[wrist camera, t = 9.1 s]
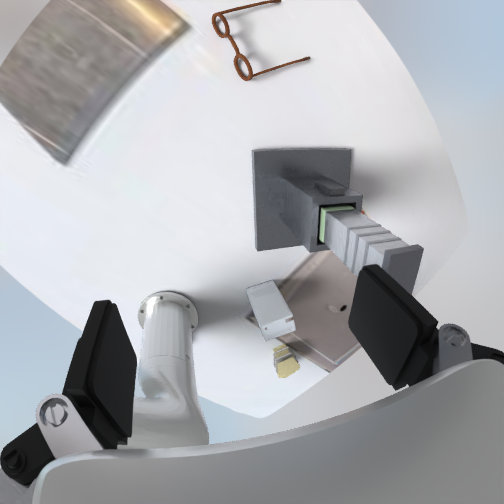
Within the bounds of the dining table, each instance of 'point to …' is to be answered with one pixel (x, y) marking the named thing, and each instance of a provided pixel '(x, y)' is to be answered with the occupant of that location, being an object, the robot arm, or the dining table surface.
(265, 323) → the skincare box
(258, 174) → the base
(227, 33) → the glasses
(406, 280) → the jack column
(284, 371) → the beige layered block
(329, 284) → the dining table surface
